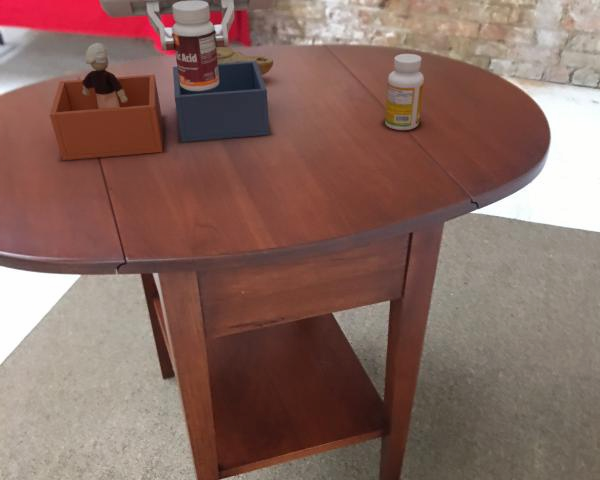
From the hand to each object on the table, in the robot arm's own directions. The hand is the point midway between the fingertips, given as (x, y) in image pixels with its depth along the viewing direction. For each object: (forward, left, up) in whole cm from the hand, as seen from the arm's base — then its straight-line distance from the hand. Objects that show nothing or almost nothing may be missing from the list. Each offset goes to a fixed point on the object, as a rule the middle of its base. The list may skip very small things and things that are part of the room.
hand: (195, 46), depth 72 cm
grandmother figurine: (-14, +22, -18) cm, 31 cm away
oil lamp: (+6, +44, -18) cm, 48 cm away
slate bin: (+3, +25, -18) cm, 31 cm away
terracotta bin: (-14, +22, -18) cm, 32 cm away
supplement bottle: (+31, +18, -18) cm, 40 cm away
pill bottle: (0, +1, -5) cm, 5 cm away
